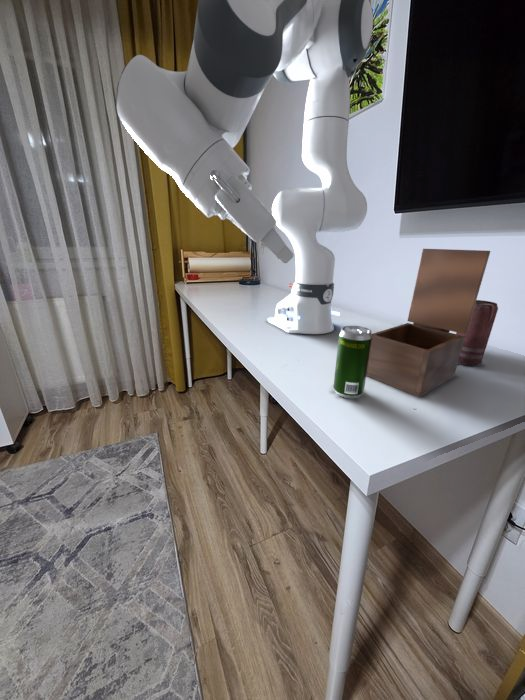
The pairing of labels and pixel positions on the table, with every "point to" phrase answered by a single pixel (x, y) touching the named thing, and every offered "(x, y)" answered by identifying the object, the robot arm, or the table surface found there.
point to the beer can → (352, 361)
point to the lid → (447, 288)
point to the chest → (414, 357)
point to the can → (478, 333)
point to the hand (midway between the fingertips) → (286, 257)
